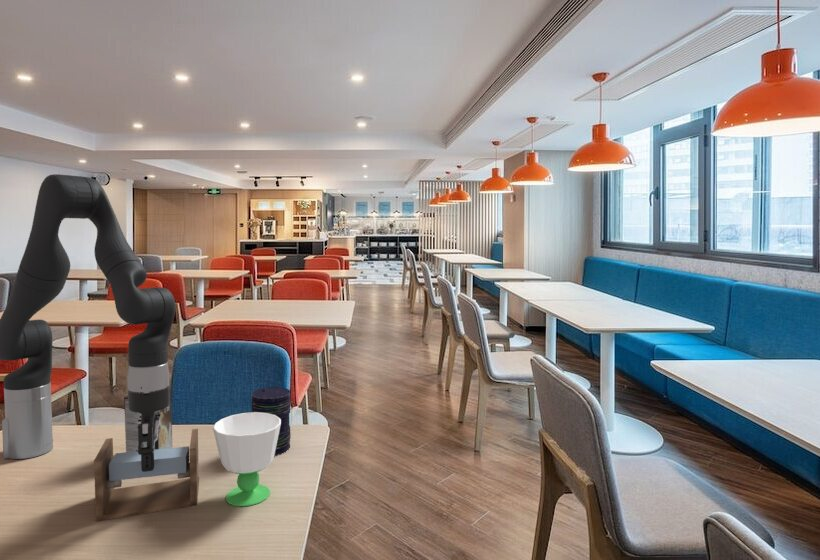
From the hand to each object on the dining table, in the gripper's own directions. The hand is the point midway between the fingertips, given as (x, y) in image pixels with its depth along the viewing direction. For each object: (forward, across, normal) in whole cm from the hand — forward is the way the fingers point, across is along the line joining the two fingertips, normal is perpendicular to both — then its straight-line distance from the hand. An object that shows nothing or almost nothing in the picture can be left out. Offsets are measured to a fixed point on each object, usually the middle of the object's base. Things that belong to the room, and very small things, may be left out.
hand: (150, 461), depth 102 cm
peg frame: (+8, 0, 0) cm, 8 cm away
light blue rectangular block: (+2, 0, 0) cm, 2 cm away
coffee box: (+8, -24, -3) cm, 26 cm away
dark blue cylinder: (+8, -18, +26) cm, 33 cm away
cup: (+8, +5, +19) cm, 21 cm away
